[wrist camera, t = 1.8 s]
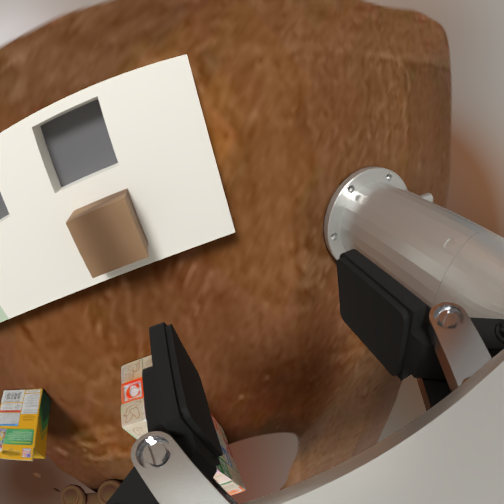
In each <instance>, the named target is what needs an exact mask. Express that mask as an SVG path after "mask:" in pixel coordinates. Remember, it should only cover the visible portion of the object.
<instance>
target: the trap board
mask: <svg viewBox="0 0 504 504" xmlns="http://www.w3.org/2000/svg"><path fill="white" fill-rule="evenodd" d="M124 189H128V192H129V194H130V197H131V200H132V202H133V205H134V208H135V210H136V213H137V215H138V218H139V221H140V223H141V226H142V228H143V231H144V233H145V236H146V238H147V240H148V255H149V257H147V258H144V259H142V260H139V261H136V262H134V263H131V264H129V265H126V266H123V267H121V268H118V269H115V270H113V271H110V272H108V273H105V274H103V275H100V276H98V277H95V278H92V276H91V274H90V272H89V270H88V268H87V267H86V265H85V263H84V261H83V259H82V257H81V255H80V253H79V251H78V248H77V246H76V244H75V242H74V240H73V238H72V236H71V234H70V231H69V229H68V227H67V225H66V222H67V220H68V219H69V217H70V216H71V214H72V213H73V211H74V210H76V209H79V208H81V207H83V206H86V205H88V204H90V203H93V202H95V201H97V200H100V199H102V198H104V197H107V196H109V195H112V194H114V193H117V192H119V191H122V190H124ZM232 233H235V229H234V226H233V222H232V218H231V215H230V211H229V208H228V204H227V201H226V197H225V193H224V190H223V186H222V183H221V179H220V175H219V172H218V168H217V164H216V161H215V157H214V153H213V150H212V146H211V142H210V139H209V135H208V131H207V128H206V124H205V120H204V117H203V113H202V109H201V106H200V102H199V98H198V94H197V91H196V87H195V83H194V79H193V76H192V72H191V68H190V64H189V61H188V57H187V54H186V55H182V56H178V57H175V58H171V59H167V60H164V61H161V62H157V63H154V64H151V65H148V66H144V67H141V68H138V69H135V70H132V71H129V72H127V73H124V74H121V75H118V76H116V77H113V78H110V79H108V80H105V81H103V82H100V83H98V84H95V85H93V86H90V87H88V88H86V89H83V90H81V91H79V92H77V93H74V94H72V95H70V96H68V97H66V98H64V99H61V100H59V101H57V102H55V103H53V104H51V105H49V106H47V107H45V108H43V109H41V110H40V111H38V112H36V113H34V114H32V115H30V116H28V117H27V118H25V119H23V120H21V121H20V122H18V123H16V124H14V125H13V126H11V127H9V128H8V129H6V130H5V131H3V132H1V133H0V322H3V321H5V320H8V319H10V318H12V317H15V316H17V315H20V314H22V313H25V312H27V311H30V310H32V309H34V308H37V307H39V306H42V305H44V304H47V303H49V302H52V301H54V300H57V299H59V298H62V297H64V296H67V295H69V294H72V293H75V292H77V291H80V290H82V289H85V288H87V287H90V286H92V285H95V284H98V283H100V282H103V281H105V280H108V279H111V278H113V277H116V276H118V275H121V274H124V273H126V272H129V271H132V270H134V269H137V268H139V267H142V266H145V265H147V264H150V263H153V262H155V261H158V260H161V259H164V258H166V257H169V256H172V255H174V254H177V253H180V252H182V251H185V250H188V249H191V248H193V247H196V246H199V245H202V244H204V243H207V242H210V241H213V240H215V239H218V238H221V237H224V236H227V235H229V234H232Z"/></svg>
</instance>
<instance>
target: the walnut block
mask: <svg viewBox="0 0 504 504" xmlns="http://www.w3.org/2000/svg"><path fill="white" fill-rule="evenodd" d="M66 225H67V227H68V229H69V231H70V234H71V236H72V238H73V240H74V242H75V244H76V246H77V248H78V251H79V253H80V255H81V257H82V259H83V261H84V263H85V265H86V267H87V268H88V270H89V272H90V274H91V276H92V278H95V277H98V276H100V275H103V274H105V273H108V272H110V271H113V270H115V269H118V268H121V267H123V266H126V265H129V264H131V263H134V262H136V261H139V260H142V259H144V258H147V257H149V255H148V240H147V238H146V236H145V233H144V231H143V228H142V226H141V223H140V221H139V218H138V215H137V213H136V210H135V208H134V205H133V202H132V200H131V197H130V194H129V192H128V189H124V190H122V191H119V192H117V193H114V194H112V195H109V196H107V197H104V198H102V199H100V200H97V201H95V202H93V203H90V204H88V205H86V206H83V207H81V208H79V209H76V210H74V211H73V213H72V214H71V216H70V217H69V219H68V220H67V222H66Z"/></svg>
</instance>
